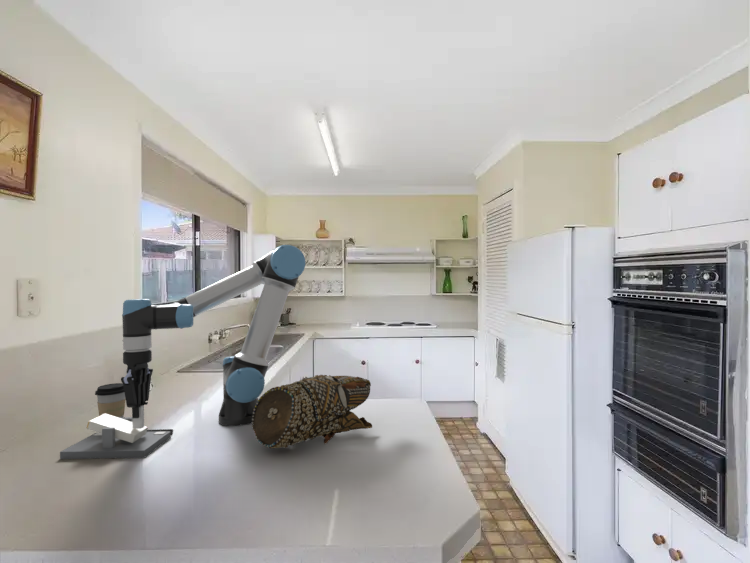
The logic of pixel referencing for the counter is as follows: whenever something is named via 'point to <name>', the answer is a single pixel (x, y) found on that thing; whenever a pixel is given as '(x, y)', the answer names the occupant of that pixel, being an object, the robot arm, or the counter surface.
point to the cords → (161, 430)
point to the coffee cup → (111, 399)
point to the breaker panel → (115, 445)
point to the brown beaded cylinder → (309, 410)
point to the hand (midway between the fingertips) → (138, 427)
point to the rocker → (117, 427)
